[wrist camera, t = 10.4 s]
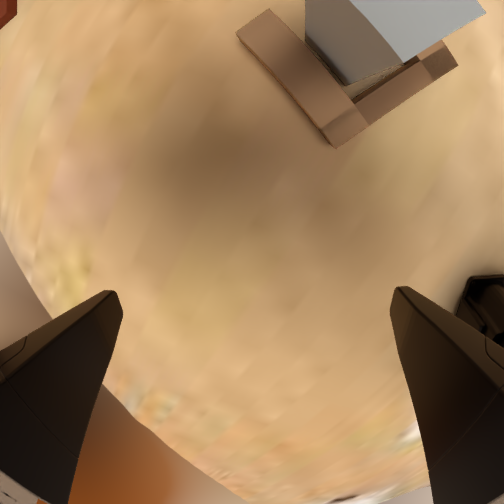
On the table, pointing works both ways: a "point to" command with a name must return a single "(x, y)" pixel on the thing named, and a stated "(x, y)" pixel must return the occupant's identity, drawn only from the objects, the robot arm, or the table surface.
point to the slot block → (325, 86)
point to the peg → (380, 31)
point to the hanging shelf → (7, 11)
